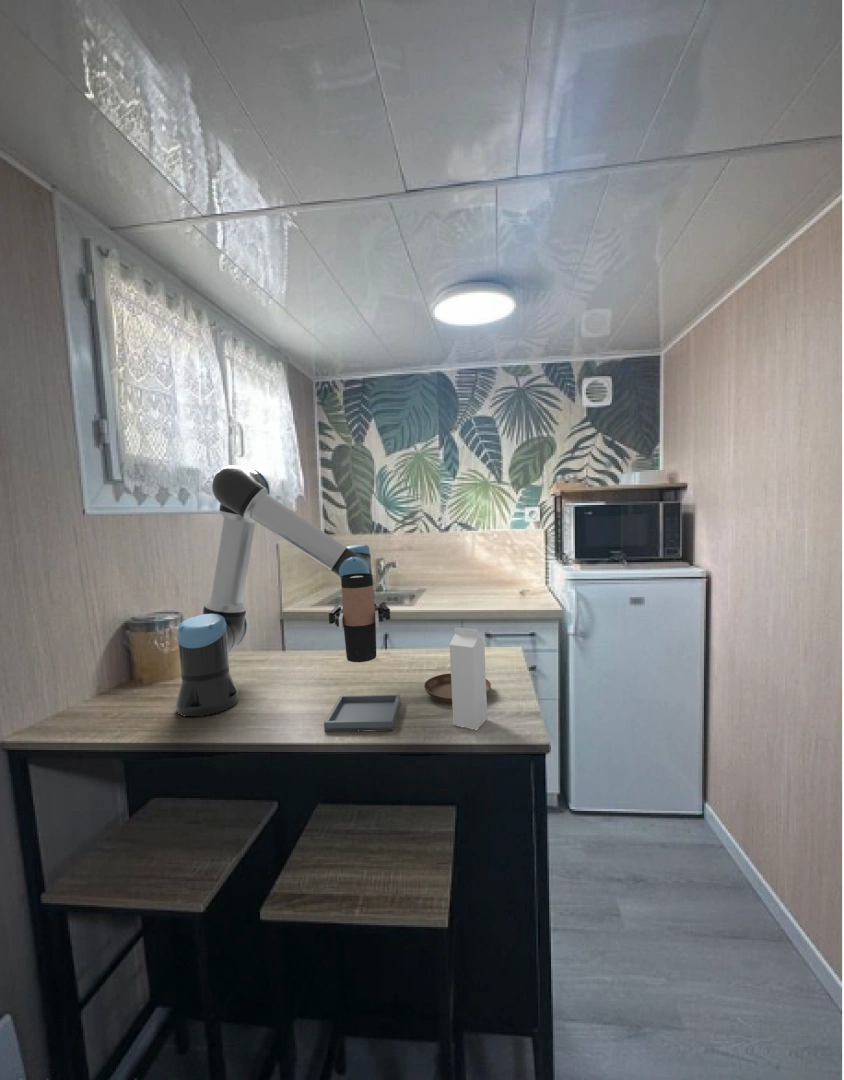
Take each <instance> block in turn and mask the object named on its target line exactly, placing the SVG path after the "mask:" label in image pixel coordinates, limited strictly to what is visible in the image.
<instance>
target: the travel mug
mask: <svg viewBox="0 0 844 1080" xmlns="http://www.w3.org/2000/svg"><path fill="white" fill-rule="evenodd" d="M373 577H374V576H373V573H372V574H370V573H356V574H347V575H343V576H341V578H340V583H341V586H340V587H341V599H342V600H341V602H342V603H341V604H342V606H341V607H342V608H343V624H344V627H343V632H344V641H345V642H344V643H345V645H344V646H345V654H346V660H347V661H348V662H351V663H366V662H370V661H373V660H374V659H376V658H377V628H376V622H375V606H374V603H375V599H374V595H375V590H374V591H373V589H374V581H373V580H374V579H373Z"/></svg>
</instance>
